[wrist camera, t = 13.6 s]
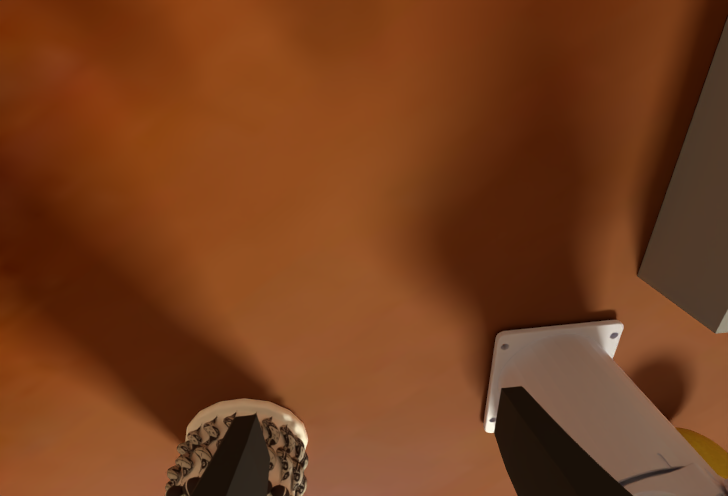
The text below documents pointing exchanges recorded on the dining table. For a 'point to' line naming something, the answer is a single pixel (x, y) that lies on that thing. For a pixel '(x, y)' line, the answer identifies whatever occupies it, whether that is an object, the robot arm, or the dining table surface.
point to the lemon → (708, 451)
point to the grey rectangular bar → (697, 211)
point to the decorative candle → (279, 433)
